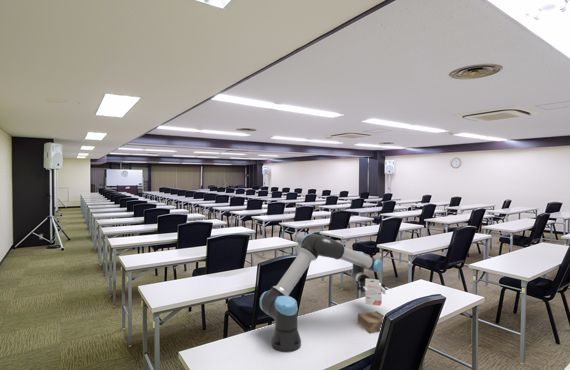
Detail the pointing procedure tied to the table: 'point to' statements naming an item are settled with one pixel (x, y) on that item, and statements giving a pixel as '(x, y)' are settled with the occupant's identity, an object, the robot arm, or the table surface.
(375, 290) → the ink cartridge box
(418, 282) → the table surface
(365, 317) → the walnut block
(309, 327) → the table surface
